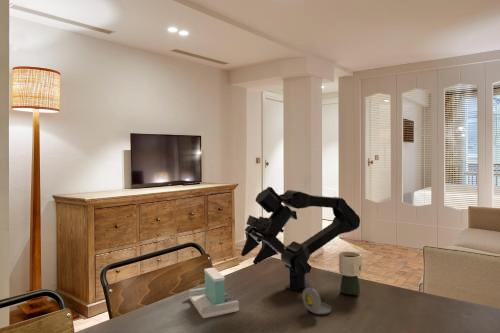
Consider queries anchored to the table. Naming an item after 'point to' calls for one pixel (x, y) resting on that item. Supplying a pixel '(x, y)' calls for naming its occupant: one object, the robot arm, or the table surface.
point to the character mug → (350, 272)
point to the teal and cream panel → (214, 286)
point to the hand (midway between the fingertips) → (247, 259)
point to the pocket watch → (314, 301)
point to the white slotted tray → (207, 307)
